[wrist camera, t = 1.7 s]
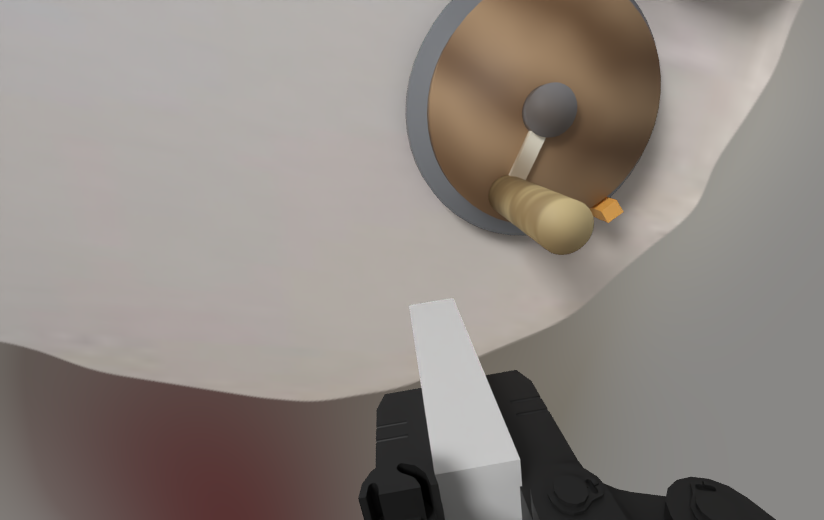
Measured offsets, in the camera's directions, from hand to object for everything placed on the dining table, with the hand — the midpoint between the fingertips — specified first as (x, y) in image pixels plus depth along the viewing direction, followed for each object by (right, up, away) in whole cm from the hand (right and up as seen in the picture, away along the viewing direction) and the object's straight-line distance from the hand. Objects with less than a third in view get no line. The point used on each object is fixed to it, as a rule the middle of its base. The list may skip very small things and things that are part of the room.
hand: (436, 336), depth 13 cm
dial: (+9, +14, +16) cm, 23 cm away
